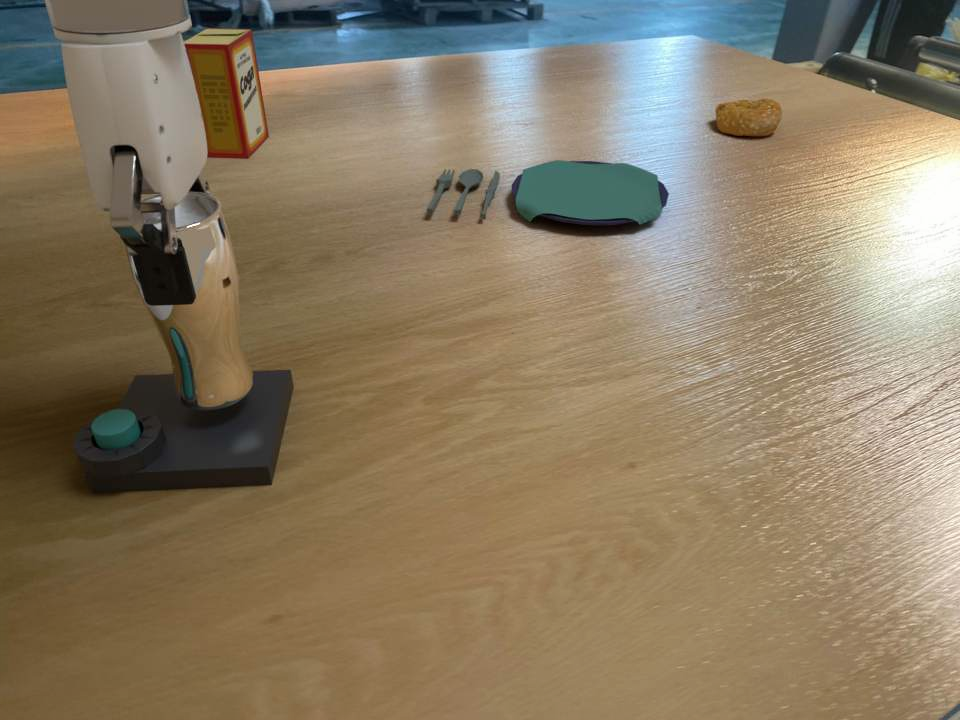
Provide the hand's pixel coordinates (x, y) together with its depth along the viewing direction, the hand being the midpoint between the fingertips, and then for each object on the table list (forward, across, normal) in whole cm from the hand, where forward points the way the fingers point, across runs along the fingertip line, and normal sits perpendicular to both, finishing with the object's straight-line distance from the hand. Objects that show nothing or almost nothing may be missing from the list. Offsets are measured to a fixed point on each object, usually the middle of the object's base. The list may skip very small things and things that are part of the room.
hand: (186, 273), depth 54 cm
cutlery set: (+14, -42, +33) cm, 55 cm away
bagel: (+14, -68, +68) cm, 97 cm away
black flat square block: (+14, +2, -1) cm, 14 cm away
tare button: (+11, +5, -6) cm, 13 cm away
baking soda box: (+14, -66, -11) cm, 68 cm away
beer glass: (+10, 0, 0) cm, 10 cm away
